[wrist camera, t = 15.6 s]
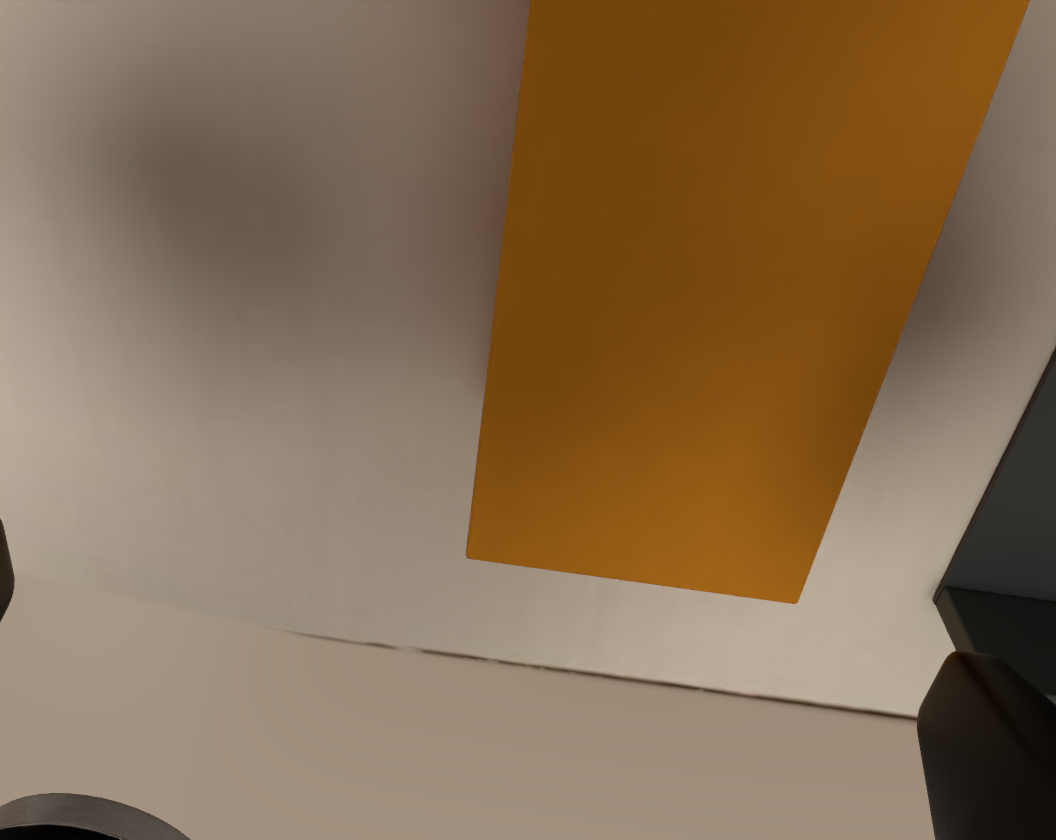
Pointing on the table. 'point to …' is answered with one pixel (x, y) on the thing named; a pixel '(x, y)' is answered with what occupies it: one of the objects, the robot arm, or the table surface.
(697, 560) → the sponge
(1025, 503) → the dark teal tray
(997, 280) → the table surface
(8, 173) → the table surface
